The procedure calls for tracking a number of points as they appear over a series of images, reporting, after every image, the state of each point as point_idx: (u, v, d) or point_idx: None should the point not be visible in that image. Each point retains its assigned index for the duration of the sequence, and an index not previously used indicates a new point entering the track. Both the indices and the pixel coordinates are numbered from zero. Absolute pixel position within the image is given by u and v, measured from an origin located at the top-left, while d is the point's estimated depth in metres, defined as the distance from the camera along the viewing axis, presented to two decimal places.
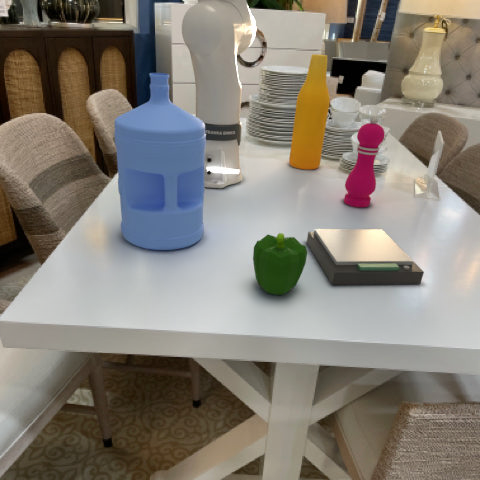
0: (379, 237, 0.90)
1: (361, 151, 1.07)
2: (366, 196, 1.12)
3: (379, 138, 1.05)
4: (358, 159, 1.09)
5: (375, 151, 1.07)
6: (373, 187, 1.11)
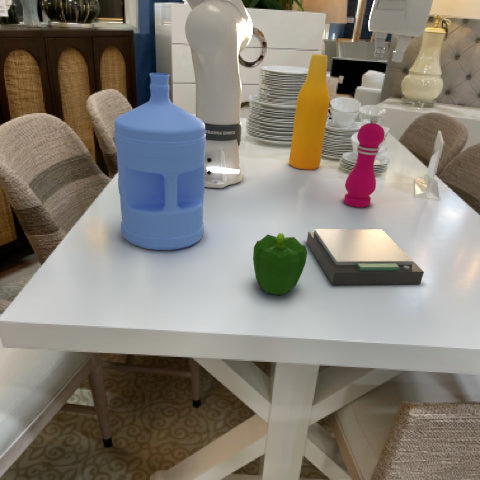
0: (379, 237, 0.90)
1: (361, 151, 1.07)
2: (366, 196, 1.12)
3: (379, 138, 1.05)
4: (358, 159, 1.09)
5: (375, 151, 1.07)
6: (373, 187, 1.11)
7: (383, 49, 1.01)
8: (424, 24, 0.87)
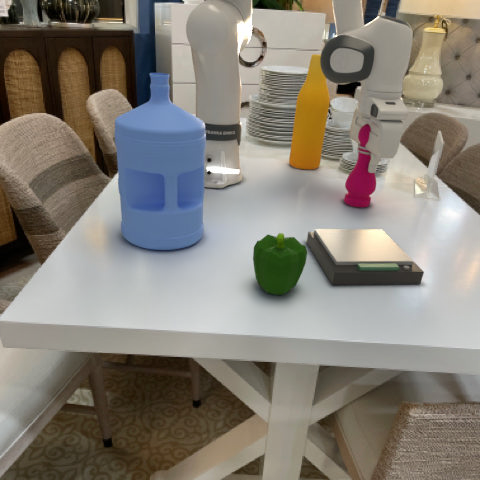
0: (379, 237, 0.90)
1: (362, 151, 1.07)
2: (366, 196, 1.12)
3: None
4: (359, 159, 1.09)
5: None
6: (373, 187, 1.11)
7: None
8: (396, 149, 0.99)
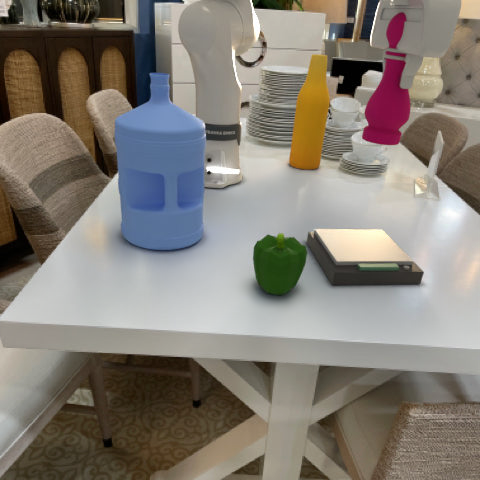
0: (379, 237, 0.90)
1: (392, 55, 0.71)
2: (396, 128, 0.76)
3: None
4: (386, 70, 0.73)
5: None
6: (407, 114, 0.75)
7: None
8: (448, 41, 0.63)
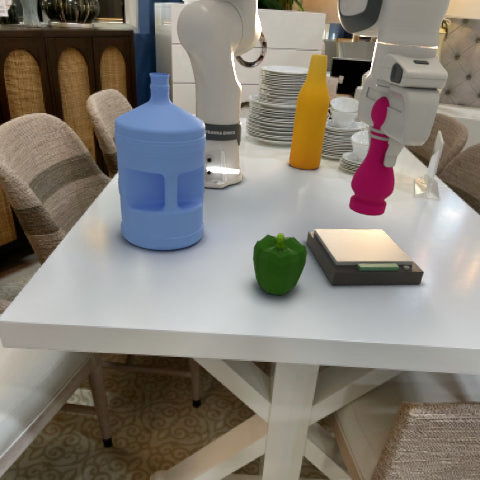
0: (379, 237, 0.90)
1: (376, 136, 0.75)
2: (380, 200, 0.80)
3: None
4: (371, 147, 0.77)
5: None
6: (391, 188, 0.78)
7: None
8: (427, 132, 0.67)
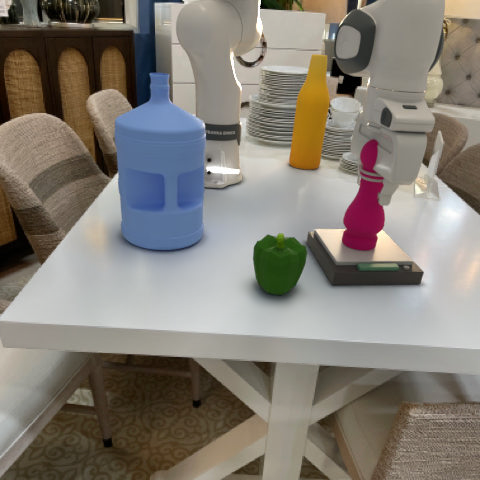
0: (379, 237, 0.90)
1: (365, 177, 0.78)
2: (372, 236, 0.83)
3: None
4: (361, 187, 0.80)
5: None
6: (381, 224, 0.82)
7: None
8: (416, 173, 0.70)
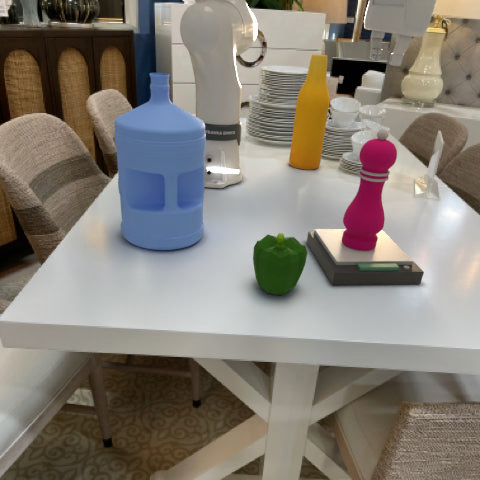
0: (379, 237, 0.90)
1: (365, 177, 0.78)
2: (371, 236, 0.83)
3: (389, 159, 0.76)
4: (361, 187, 0.80)
5: (384, 177, 0.78)
6: (381, 224, 0.82)
7: (380, 50, 0.89)
8: (427, 22, 0.75)
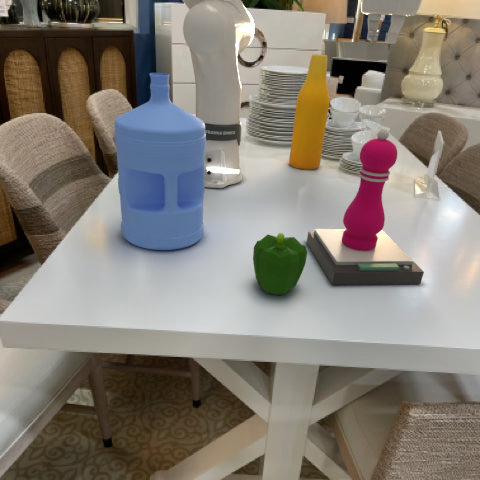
0: (379, 237, 0.90)
1: (365, 177, 0.78)
2: (371, 236, 0.83)
3: (390, 159, 0.76)
4: (361, 187, 0.80)
5: (384, 177, 0.78)
6: (381, 224, 0.82)
7: (377, 31, 0.97)
8: (418, 2, 0.83)
